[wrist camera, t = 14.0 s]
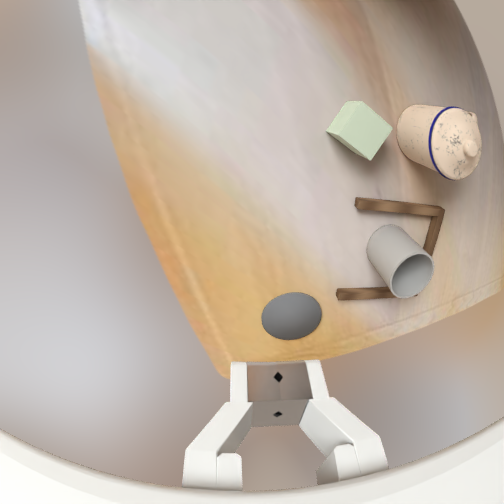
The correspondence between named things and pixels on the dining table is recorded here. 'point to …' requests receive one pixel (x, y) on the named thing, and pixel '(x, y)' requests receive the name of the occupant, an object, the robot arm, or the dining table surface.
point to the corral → (399, 207)
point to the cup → (400, 261)
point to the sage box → (359, 129)
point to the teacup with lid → (440, 139)
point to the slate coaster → (291, 316)
